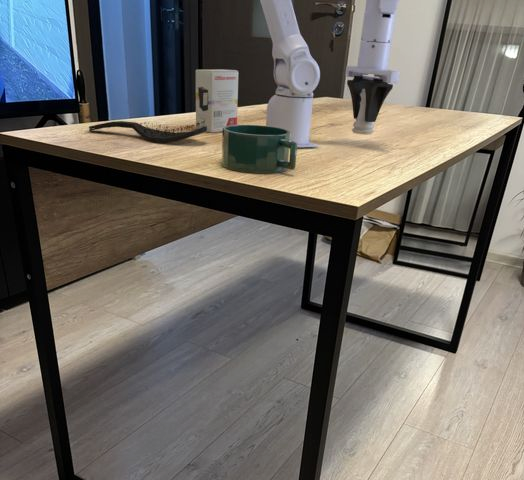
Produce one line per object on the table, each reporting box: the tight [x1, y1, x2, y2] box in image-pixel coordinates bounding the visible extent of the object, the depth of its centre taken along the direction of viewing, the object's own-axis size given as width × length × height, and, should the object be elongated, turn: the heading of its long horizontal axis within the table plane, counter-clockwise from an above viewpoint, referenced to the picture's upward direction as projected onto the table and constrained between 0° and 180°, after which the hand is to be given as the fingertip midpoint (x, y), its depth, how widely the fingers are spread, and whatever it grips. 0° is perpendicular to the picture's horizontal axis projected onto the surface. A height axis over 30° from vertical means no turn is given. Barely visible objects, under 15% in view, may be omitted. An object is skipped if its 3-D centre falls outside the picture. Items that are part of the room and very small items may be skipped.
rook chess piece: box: [351, 89, 375, 136], centre depth 107 cm, size 4×4×8 cm
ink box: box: [195, 69, 239, 134], centre depth 114 cm, size 9×5×12 cm, turn 141°
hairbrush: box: [88, 120, 207, 144], centre depth 103 cm, size 8×4×25 cm
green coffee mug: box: [221, 124, 298, 174], centre depth 84 cm, size 14×11×6 cm
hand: (364, 120), depth 107 cm, fingers closed on rook chess piece, 3 cm apart
